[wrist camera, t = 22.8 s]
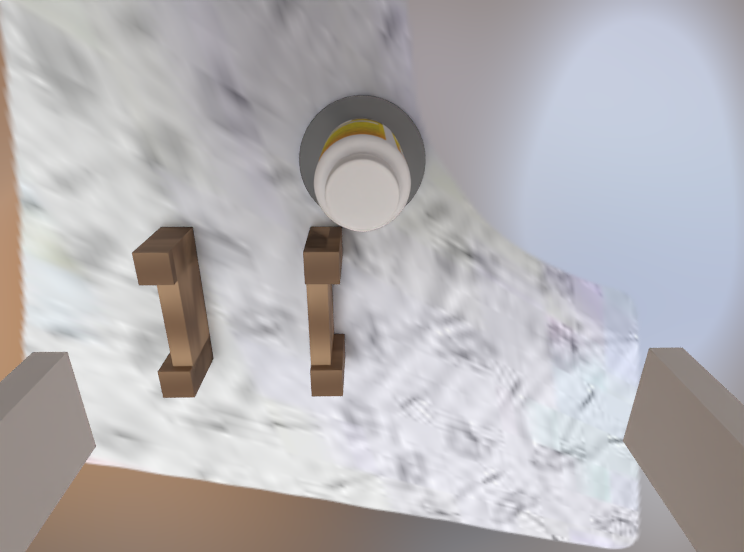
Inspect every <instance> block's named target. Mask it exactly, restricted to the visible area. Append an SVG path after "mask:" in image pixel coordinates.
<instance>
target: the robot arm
mask: <svg viewBox="0 0 744 552" xmlns="http://www.w3.org/2000/svg"><path fill="white" fill-rule="evenodd" d="M623 442H624V443H625V445H626V446H627V448H628V449H629V451H630V452H631V454H632V455H633V457H634V458H635V460H636V461H637V463H638V464H639V466H640V467H641V469H642V470H643V472H644V473H645V475H646V476H647V478H648V479H649V481H650V482H651V484H652V485H653V487H654V488H655V490H656V491H657V493H658V494H659V496H660V497H661V499H662V500H663V502H664V503H665V505H666V506H667V508H668V509H669V510H670V512H671V514H672V515H673V517H674V518H675V520H676V521H677V523H678V524H679V526H680V527H681V529H682V530H683V532H684V533H685V535H686V537H687V538H688V539H689V541H690V542H691V544H692V546H693V547H694V549H695V550H696V552H744V405H743V404H742V403H741V402H740V401H739V400H738V399H737V398H736V397H735V396H734V395H732V394H731V393H730V392H729V391H728V390H727V389H726V388H725V387H724V386H723V385H722V384H721V383H720V382H718V381H717V380H716V379H715V378H714V377H713V376H712V375H711V374H710V373H709V372H708V371H707V370H705V369H704V367H702V366H701V365H700V364H699V363H698V362H697V361H696V360H695V359H694V358H693V357H692V356H691V355H689V353H687V352H686V351H685V350H684V349H683V348H649V351H648V354H647V358H646V361H645V364H644V368H643V371H642V375H641V379H640V382H639V386H638V389H637V393H636V396H635V400H634V403H633V407H632V411H631V414H630V418H629V421H628V425H627V428H626V432H625V435H624V439H623ZM95 447H96V445H95V441H94V438H93V435H92V431H91V428H90V425H89V421H88V418H87V415H86V412H85V408H84V405H83V402H82V398H81V395H80V392H79V388H78V385H77V382H76V379H75V375H74V372H73V369H72V365H71V362H70V359H69V356H68V352H33V353H31V354H30V355H29V356H28V357H27V358H26V359H25V360H24V361H23V362H22V363H21V364H20V365H18V366H17V367H16V368H15V369H14V370H13V371H12V372H11V373H10V374H9V375H7V376H6V377H5V378H4V379H3V380H2V381H1V382H0V552H25V551H26V550H27V548H28V547H29V545H30V544H31V542H32V541H33V539H34V538H35V536H36V535H37V533H38V532H39V530H40V529H41V527H42V526H43V524H44V523H45V521H46V520H47V518H48V517H49V515H50V514H51V512H52V511H53V509H54V508H55V506H56V505H57V504H58V502H59V500H60V499H61V498H62V496H63V495H64V493H65V492H66V490H67V489H68V487H69V486H70V484H71V483H72V481H73V480H74V478H75V477H76V475H77V474H78V472H79V471H80V469H81V468H82V466H83V465H84V463H85V462H86V460H87V459H88V457H89V456H90V454H91V453H92V451H93V450H94V448H95Z"/></svg>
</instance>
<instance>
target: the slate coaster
mask: <svg viewBox="0 0 744 552" xmlns="http://www.w3.org/2000/svg"><path fill="white" fill-rule="evenodd" d="M356 118H367V119H372V120H375V121H378V122H380V123H382V124H383V125H385V126H386V127H387V128H389V129H390V130H391V132H392V133H393V134H394V135H395V137H396V138H397V140H398V142H399V145H400V147H401V149H402V152H403V154H404V157H405V160H406V162H407V165H408V168H409V171H410V178H411V188H410V194H409V197H408V201H407V203H406V205H407V204H408V203H409V202H410V201H411V199H412V198H413V197H414V195H415V194H416V192H417V190H418V188H419V186H420V184H421V181H422V178H423V174H424V170H425V151H424V145H423V142H422V138H421V136H420V134H419V131H418V129H417V128H416V126H415V124H414V123H413V121H412V120H411V119H410V118H409V116H408V115H407V114H406V113H405V112H403V111H402V110H401V109H400V108H399V107H397V106H396V105H394V104H392V103H390V102H389V101H387V100H384V99H381V98H378V97H373V96H364V95H360V96H351V97H346V98H343V99H340V100H337V101H335V102H334V103H332V104H330V105H328V106H327V107H326V108H324V109H323V110H322V111H321V112H320V113H319V114H317V115H316V117H315V118H314V119H313V120H312V122H311V123H310V125H309V126H308V128H307V130H306V132H305V134H304V137H303V139H302V143H301V146H300V154H299V165H300V172H301V176H302V179H303V182H304V184H305V187H306V189H307V190H308V192H309V194H310V195H311V197H312V198H313V199H314V201H315V202H316V203H317V204H318V205H319V203H318V201H317V198H316V195H315V190H314V176H315V170H316V167H317V164H318V161H319V158H320V156H321V153H322V150H323V148H324V145H325V142H326V140H327V138H328V137H329V135H330V134H331V133H332V131H333V130H334V129H335V128H336V127H338V126H339V125H340V124H342V123H344V122H346V121H348V120H351V119H356ZM406 205H405V206H406ZM319 206H320V205H319Z"/></svg>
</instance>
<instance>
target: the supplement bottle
mask: <svg viewBox="0 0 744 552" xmlns="http://www.w3.org/2000/svg"><path fill="white" fill-rule="evenodd" d="M410 188H411V178H410V171H409V168H408V165H407V162H406V160H405V157H404V154H403V152H402V149H401V147H400V145H399V142H398V140H397V138H396V137H395V135H394V134H393V133H392V132H391V130H390V129H389V128H387V127H386V126H385V125H383V124H382V123H380V122H378V121H375V120H372V119H367V118H356V119H351V120H348V121H346V122H344V123H342V124H340V125H339V126H338V127H336V128H335V129H334V130H333V131H332V133H331V134H330V135H329V137H328V138H327V140H326V142H325V145H324V148H323V150H322V153H321V156H320V158H319V161H318V164H317V167H316V170H315V176H314V190H315V195H316V198H317V201H318V203H319V205H320V207H321V208H322V210H323V211H324V213H325V214H326V215H327V216H328V217H329V218H330V219H331V220H332V221H334V222H335V223H337V224H338V225H340V226H342V227H345V228H347V229H350V230H353V231H358V232H367V231H372V230H375V229H378V228H380V227H383V226H385V225H387V224H388V223H390V222H391V221H392V220H394V219H395V218H396V217H397V216H398V215H399V214H400V213H401V211H402V210H403V208H404V207H405V205H406V203H407V201H408V197H409V194H410Z"/></svg>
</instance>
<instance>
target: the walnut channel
mask: <svg viewBox="0 0 744 552" xmlns="http://www.w3.org/2000/svg"><path fill="white" fill-rule="evenodd" d="M132 255H133V260H134V265H135V269H136V274H137V279H138V283H139V285H157V288H158V293H159V298H160V303H161V308H162V313H163V318H164V323H165V328H166V333H167V338H168V343H169V348H170V353H169V355H168V356H167V358H166V360H165V361H164V363H163V364H162V366H161V367H160V369H159V371H158V375H159V380H160V385H161V389H162V394H163V398H176V397H195V396H196V394H197V392H198V389H199V387H200V385H201V383H202V381H203V379H204V377H205V375H206V373H207V371H208V369H209V367H210V365H211V363H212V360H213V354H212V347H211V341H210V334H209V328H208V322H207V315H206V309H205V303H204V296H203V290H202V284H201V277H200V271H199V265H198V258H197V252H196V246H195V239H194V233H193V227H161V228H160V229H158V230H157V231H156V232H155V233H154V234H153V235H152V236H150V237H149V238H148V239H147V240H146V241H145V242H144V243H143V244H141V245H140V246H139V247H138V248H137V249H136V250H135V251H133V252H132ZM342 257H343V250H342V227H310V231H309V234H308V237H307V241H306V244H305V248H304V251H303V258H304V275H305V284H306V286H307V303H308V320H309V337H310V354H311V369H310V375H311V391H312V396H343V385H344V368H345V334H334V322H333V294H332V284H340V277H341V267H342Z"/></svg>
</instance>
